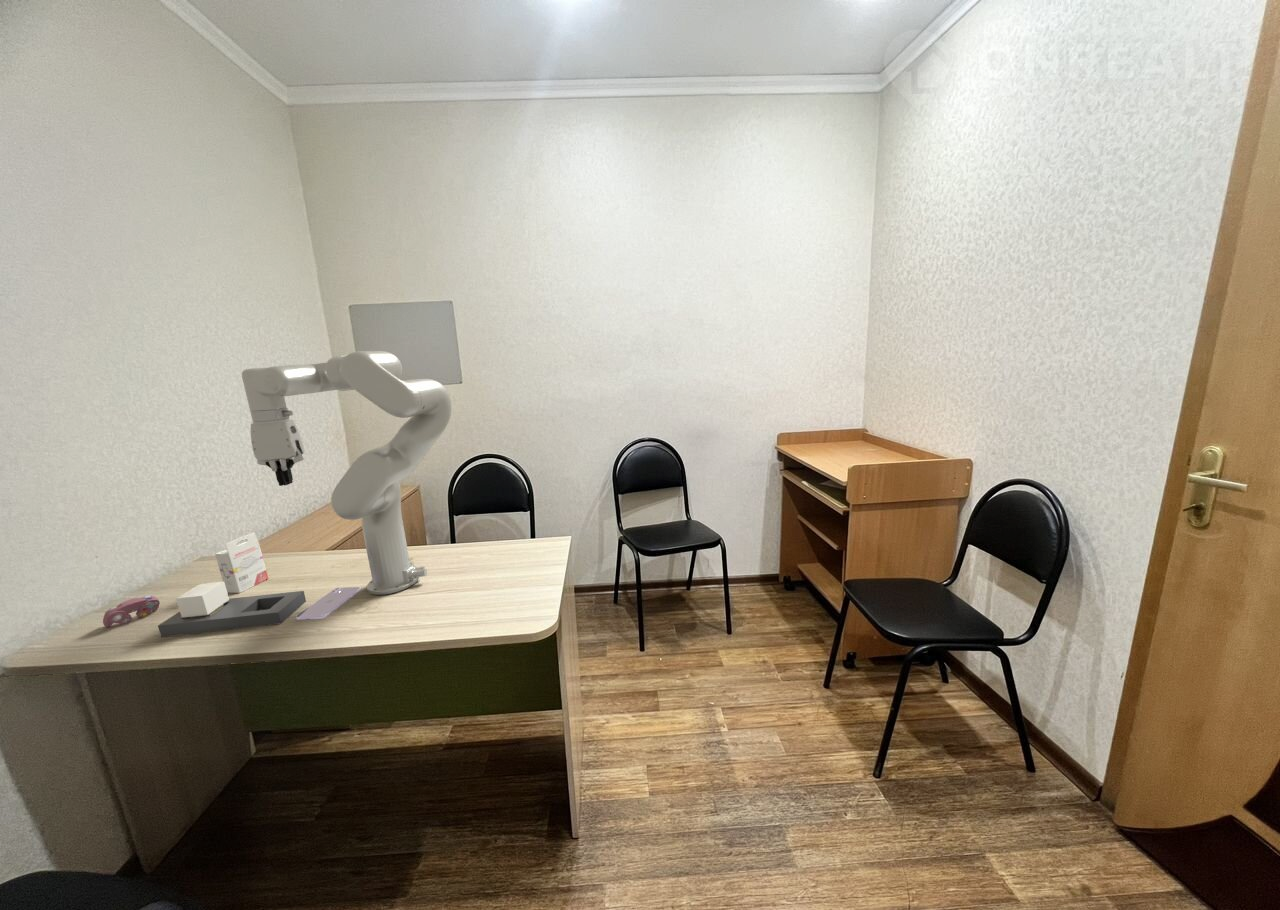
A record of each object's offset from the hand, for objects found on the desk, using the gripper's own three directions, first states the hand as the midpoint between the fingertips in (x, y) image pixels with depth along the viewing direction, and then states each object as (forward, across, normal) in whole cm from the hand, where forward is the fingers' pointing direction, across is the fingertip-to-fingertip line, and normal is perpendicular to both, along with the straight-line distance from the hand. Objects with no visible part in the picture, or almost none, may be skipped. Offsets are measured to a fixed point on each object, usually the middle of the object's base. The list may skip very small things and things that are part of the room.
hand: (286, 484), depth 125 cm
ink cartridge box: (+29, +18, -3) cm, 35 cm away
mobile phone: (+30, -12, +13) cm, 35 cm away
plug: (+29, +14, +16) cm, 36 cm away
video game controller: (+29, +35, +11) cm, 47 cm away
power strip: (+29, +8, +16) cm, 34 cm away
